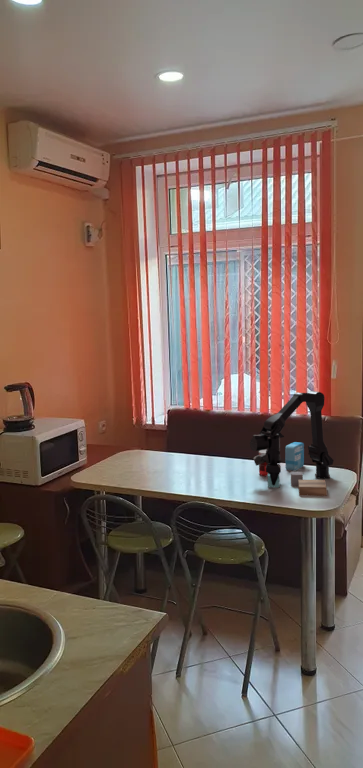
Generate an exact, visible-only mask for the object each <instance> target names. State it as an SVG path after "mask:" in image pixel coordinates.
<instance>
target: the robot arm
mask: <svg viewBox="0 0 363 768" xmlns="http://www.w3.org/2000/svg"><path fill="white" fill-rule="evenodd" d="M292 395H293V396H292V397H291V398H290V399H289V400H288V401H287V402H286V403H285V405H284V406H283V407H281V409H280V410H278V411H277V412H276V413H275V414H273V415H271V416H269V417H268V418H267V419H266V420H264V423H263V424H264V425H263V426H262V428H261V429H260V431H259V433H258V434H252V437H251V439H250V441H249V447H250V449H251V451H253V452H259V451H260V450H266V453H264V454H260V455H259V454H258V455H256V456H254V457H253V460H254V464H255V466H259V464H262V463H265V462H266V464H267V465H266V472H268V473H269V474H270V477H271V481H272V485H275V483H276V481H277V478H278V476H279V477H280V473H281V470H282V469H281V468H282V467H281V443H280V442H281V439H282V438H285V435H283V434H282V433H281V432H282V430H283V429H284V428H285V426H286V421H287V420H288V419H289V418H290V417H291V416H292V415H293V414H294V413H295V411H296V410H297V409H298V408H299V407H300V406H301V405H302V403H304V402H305V404H306V406H307V408H308V410H309V413H310V414H309V415H310V425H311V428H310V429H311V439H312V442H311V444H310V445H308V446H307V450H308V453H307V454H308V455H309V458H311V461H312V463H315V473H314V478H315V479H331V476H330V466H332V465H333V464H334V458H333V457H331V456H330V453H329V451H328V450H329V449H328V447H327V445H326V443H325V442H324V430H323V428H324V427H323V417H322V415H323V414H322V410H323V408H324V406H325V394H324V393H323V392H321V391H315V390H309V391H307V392H298V391H297V392H295V393H293V394H292Z"/></svg>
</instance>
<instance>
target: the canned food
mask: <svg viewBox="0 0 363 768" xmlns="http://www.w3.org/2000/svg"><path fill="white" fill-rule="evenodd" d="M266 450H267V449H266ZM266 450H259V451H258V455H260V454H264V453H266ZM266 465H267V464H266V462H265V463H262V464H259V465H258V472H259V473H258V474H259V476H262V477H268V472H266Z"/></svg>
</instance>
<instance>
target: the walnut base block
mask: <svg viewBox="0 0 363 768" xmlns="http://www.w3.org/2000/svg"><path fill="white" fill-rule="evenodd" d="M326 483H327V482H326V480H325V479H303V480H298V486H297V487H298V495H299V496H303V497H305V496H307V497H308V496H310V497H311V496H312V497H327V493H328V492H327V484H326Z"/></svg>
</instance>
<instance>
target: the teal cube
mask: <svg viewBox="0 0 363 768" xmlns="http://www.w3.org/2000/svg"><path fill="white" fill-rule="evenodd" d="M267 488H280V475H279V476H278V478H277V481H276V483H275V485H272V481H271V477H270V474H269V473H268V476H267Z"/></svg>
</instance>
